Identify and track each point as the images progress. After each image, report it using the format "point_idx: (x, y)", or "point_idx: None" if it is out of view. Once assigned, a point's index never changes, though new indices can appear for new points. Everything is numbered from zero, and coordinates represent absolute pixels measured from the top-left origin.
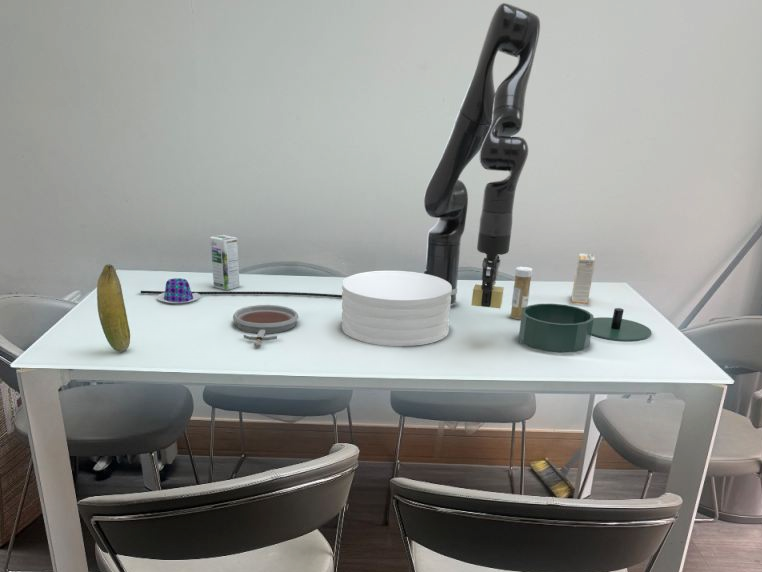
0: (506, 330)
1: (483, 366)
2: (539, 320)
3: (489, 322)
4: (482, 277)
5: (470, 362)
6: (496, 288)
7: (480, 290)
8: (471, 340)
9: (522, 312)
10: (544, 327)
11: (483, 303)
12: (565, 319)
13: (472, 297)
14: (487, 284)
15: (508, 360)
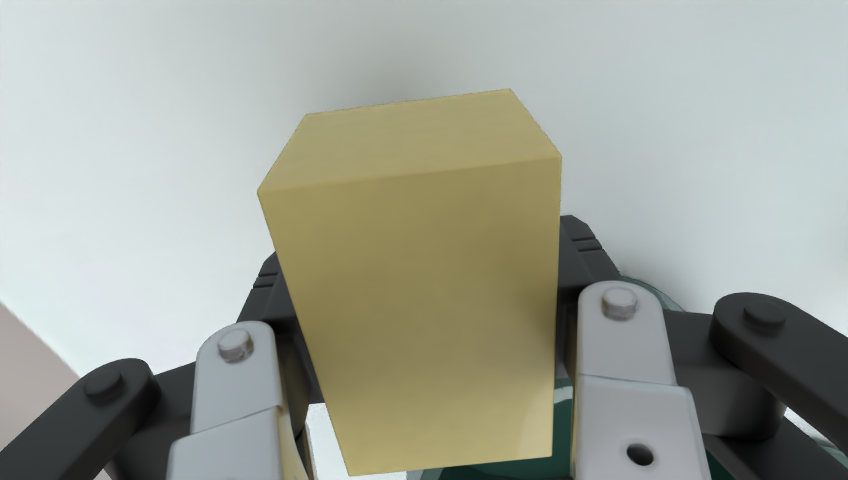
0: (690, 193)
1: (75, 208)
2: (436, 474)
3: (840, 69)
4: (174, 477)
5: (77, 135)
6: (460, 418)
7: (288, 284)
8: (445, 45)
9: (561, 389)
10: (413, 471)
11: (273, 261)
12: (707, 460)
13: (287, 146)
14: (569, 321)
15: (235, 288)
